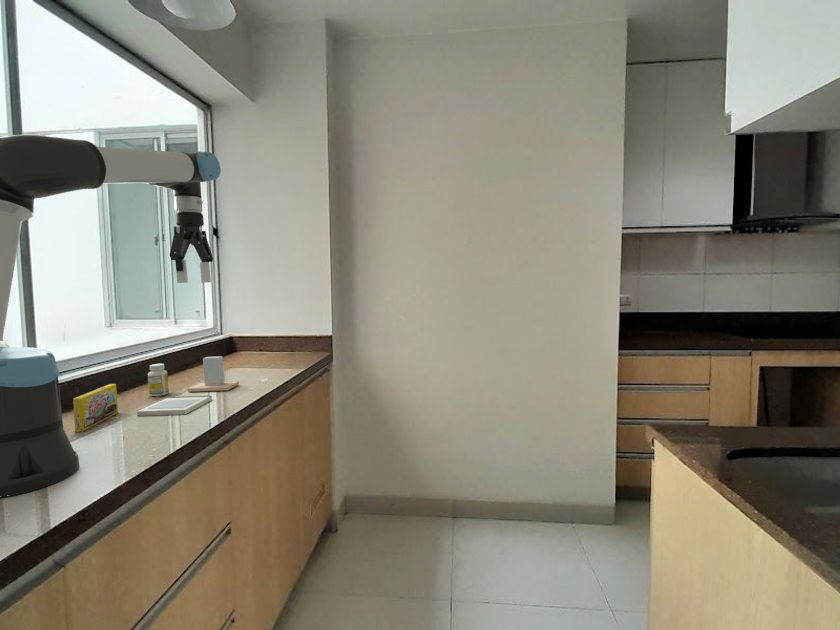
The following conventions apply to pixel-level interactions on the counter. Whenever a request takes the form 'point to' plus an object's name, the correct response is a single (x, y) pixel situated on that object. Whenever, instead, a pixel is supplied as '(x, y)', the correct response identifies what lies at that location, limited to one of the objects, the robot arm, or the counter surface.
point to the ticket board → (175, 405)
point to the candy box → (95, 407)
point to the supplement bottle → (158, 380)
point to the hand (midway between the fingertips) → (195, 282)
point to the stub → (213, 376)
